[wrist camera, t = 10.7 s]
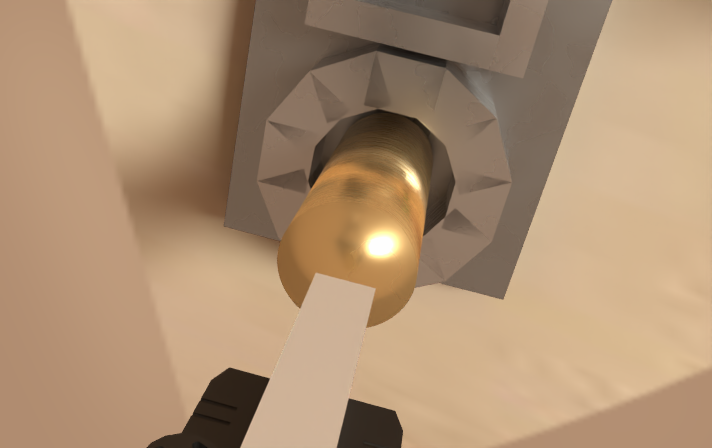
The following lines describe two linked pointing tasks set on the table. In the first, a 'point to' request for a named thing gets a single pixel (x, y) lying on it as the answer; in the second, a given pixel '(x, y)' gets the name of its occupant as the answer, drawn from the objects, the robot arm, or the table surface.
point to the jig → (416, 113)
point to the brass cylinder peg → (364, 215)
